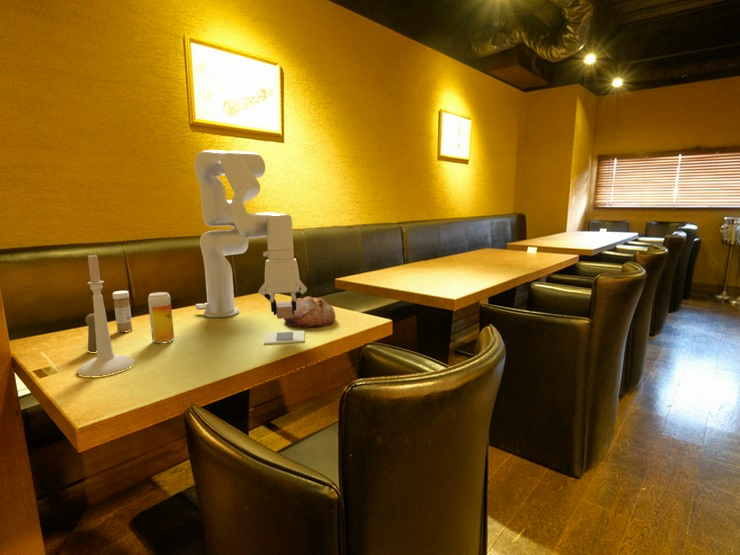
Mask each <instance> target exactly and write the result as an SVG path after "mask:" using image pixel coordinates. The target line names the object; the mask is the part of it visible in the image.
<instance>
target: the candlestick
mask: <svg viewBox="0 0 740 555" xmlns="http://www.w3.org/2000/svg"><path fill="white" fill-rule="evenodd" d="M87 261H88V269H89V277H90V281H88V282H87V284H88V285H89V286H90V290H91V291H92V293H93V295H92V303H93V313H94V318H95V332H96V347H97V353H96V357H94V358H93V359H89V360H88V361H87V362H83V364H81V365H80V366H79V367H78V369H77V371H76V374H77V373H78V374H79V375H82V376H90V377H91V376H103V375H108V374H112V373H116V372H119V371H122V370H125V369H127V368H129V367H130V366H132V365H133V364H134V362H135V359H134V358H132V357H130V356H128V355H124V354H114V352H113V350H114V349H113V346H112V341H111V335H110V331H109V326H108V318H107V319H106V317H107V313H106V308H105V304H104V298H103V295H102V290H103V283H104V282H105V280H101V277H100V276H101V275H100V269H99V268H100V267H99V260H98V255H97V254H96V255H94V254H91V255H87ZM135 363H136V362H135ZM134 365H135V364H134Z"/></svg>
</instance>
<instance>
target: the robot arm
mask: <svg viewBox="0 0 740 555" xmlns="http://www.w3.org/2000/svg"><path fill="white" fill-rule="evenodd" d="M194 171H195V176H196V179H197V181H198V182H197V183H198V184H199V188H200V189H199V190H200V200H201V201H200V202H201V216H202V220H203V223H204V224H205V225H206V226H208V227H213V228H214V227H230V228H231V229H216V230H209V231H206V232H204V233H202V234H201V236H200V238H199V247H200V250H201V255H202V258H203V264H204V265H203V266H204V273H205V274H204V276H205V289H206V300H207V302H205V303H196V304H195V309H196V310H198V311H200V310H201V311H202V310H204V311H203V315H204V317H206V318H207V317H208V318H212V319H213V318H215V319H217V318H228V317H232V316H235V315H237V314H239V313H240V309H239V308H238V307H236V306H235V297H234V296H235V295H234V283H233V282H234V281H233V269H232V265H231V263H230V261H228V259H227V258H226V256H231V255H239V254H245V253H246V251H247V250H248V248H249V239H258V238H266V239H267V241H266V242H267V250H266V251H263V252H262V253H263V254H262V256H263V257H266V258H268V259H267V260H265V264H264V265H265V266H264V283H263V284H262V286H260V288H259V290H258V291H257V292H258V293H259V295H261V296H263V297H264V298H266V300H268V301H269V303H270V310H271V311H270V312H271V313H273V316H277V314H276V313H277V312H276V302H277V301H276V294H289V293H290V296H291V300H290V302H291V305H292V314H294V311H296V300H297V299H299V298H301V296H302V295H304V294H305V293H306V292H307V290H308V288H307V286H305V284H304V283H303V282H302V281H301V280H300V272H299V266H298V262H297V258H294V256H295V254H294V252H295V251H294V235H293V233H294V232H293V217H292V216H291V214H290V213H289V214H288V213H277V212H251V213H249V212H247V209H246V205H244V204H245V203H247V202H249V201H251V200H253V199H254V198H256V197H257V196H258V195H259V194H260V192H261V184H260V182H259V181H258V179H260V178H262V177H263V176H264V174H265V172H266V164H265V160H264V159H263V157H262V156H261V154H259V153H257V152H254V151H239V150H231V151H228V150H227V151H226V150H217V149H214V150H213V149H209V150H202V151H199V152H198V153H197V154H196V156H195V160H194ZM218 176H220V177H225V178H226V180H227V181H228V183H229V186H230V188H231V190H232V191H233V193H234V195H233V197H232V198H231V199H230V200H229V199H227V196H226V195H227V194H226V192H227V191H226V187H225V185H224V183H223V181H222V180H221V179H220V178H219V177H218Z"/></svg>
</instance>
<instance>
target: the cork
mask: <svg viewBox="0 0 740 555" xmlns="http://www.w3.org/2000/svg"><path fill="white" fill-rule="evenodd" d="M106 319H107V320H108V318H107V316H106ZM85 324H86V325H87V327H88V328H87V329H88V331H87V333H88V334H87V335H88V336H87V338H88V340H87V352H88V351H90V352H96V351H97V347H96V332H95V318H94V312H92V313H89V314H87V315H86V316H85Z"/></svg>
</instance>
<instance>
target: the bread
mask: <svg viewBox="0 0 740 555" xmlns="http://www.w3.org/2000/svg"><path fill="white" fill-rule="evenodd" d="M336 317H337V316H336V312H335V309H334V308H333V306H332V305H331V304H330V303H329V302H327V301H326V300H324V299H323V298H321V297H312V296H310V295H308V296H305V297H302V298H301V297H300V299H299V298H298V299H297V300H296V311H294V314H293V318H283V320H284V322H285V324H287V325H288V326H292V327H294V326H295V328H300V327H301V328H302V329H317V328H323V327H324V326H325V327H328V326H327V325H329V326H332V325H333V324H335V322H336ZM301 328H300V329H301Z"/></svg>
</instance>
